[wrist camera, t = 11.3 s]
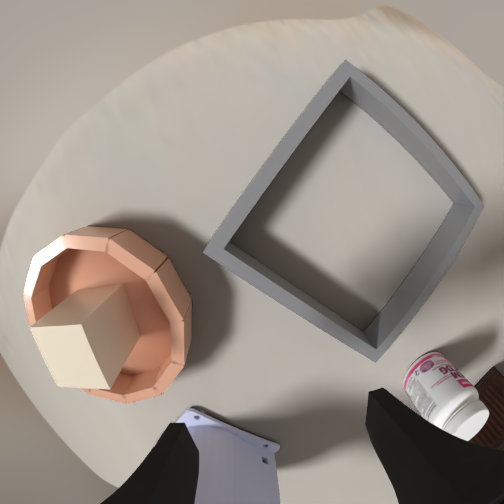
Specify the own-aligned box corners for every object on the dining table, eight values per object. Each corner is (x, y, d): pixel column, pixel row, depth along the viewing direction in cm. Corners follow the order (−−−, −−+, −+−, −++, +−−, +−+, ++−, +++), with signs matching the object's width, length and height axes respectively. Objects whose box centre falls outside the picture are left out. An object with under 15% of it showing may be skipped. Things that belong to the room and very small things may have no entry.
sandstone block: (123, 282, 18) (81, 324, 12) (140, 336, 19) (110, 389, 13) (77, 289, 18) (29, 327, 12) (94, 339, 19) (57, 386, 13)
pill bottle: (447, 344, 21) (501, 395, 13) (438, 383, 22) (481, 436, 14) (405, 358, 21) (455, 422, 13) (398, 398, 22) (437, 460, 14)
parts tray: (463, 201, 18) (484, 205, 15) (363, 344, 20) (375, 362, 18) (332, 73, 16) (345, 59, 13) (207, 242, 18) (202, 252, 15)
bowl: (225, 294, 19) (223, 315, 16) (148, 400, 21) (139, 424, 18) (80, 193, 17) (55, 197, 14) (34, 318, 19) (14, 334, 16)
